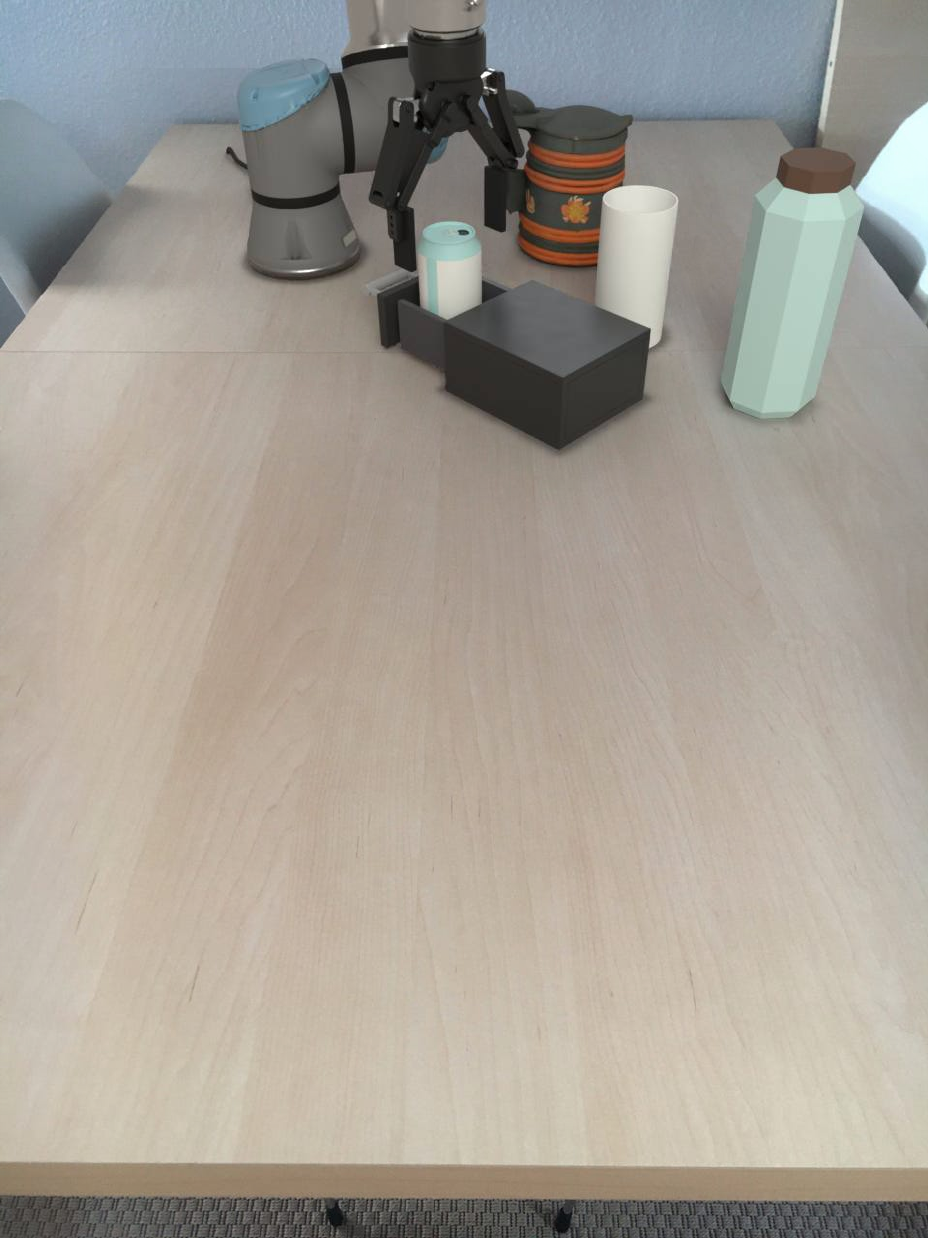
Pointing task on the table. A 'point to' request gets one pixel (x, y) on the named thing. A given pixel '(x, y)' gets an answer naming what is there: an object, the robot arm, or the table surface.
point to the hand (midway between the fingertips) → (451, 247)
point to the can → (449, 269)
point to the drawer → (414, 315)
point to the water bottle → (791, 282)
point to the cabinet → (546, 361)
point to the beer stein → (565, 178)
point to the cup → (636, 254)
